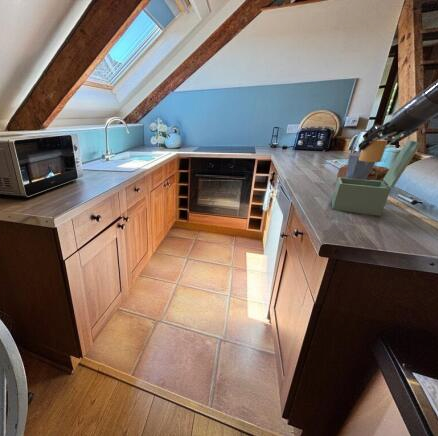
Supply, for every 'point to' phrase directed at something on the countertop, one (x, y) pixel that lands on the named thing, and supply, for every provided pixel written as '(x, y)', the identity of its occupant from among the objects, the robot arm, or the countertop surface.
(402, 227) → the countertop surface
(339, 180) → the bin
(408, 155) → the bin lid
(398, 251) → the countertop surface
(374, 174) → the bread
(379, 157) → the tan cylinder
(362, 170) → the moka pot
